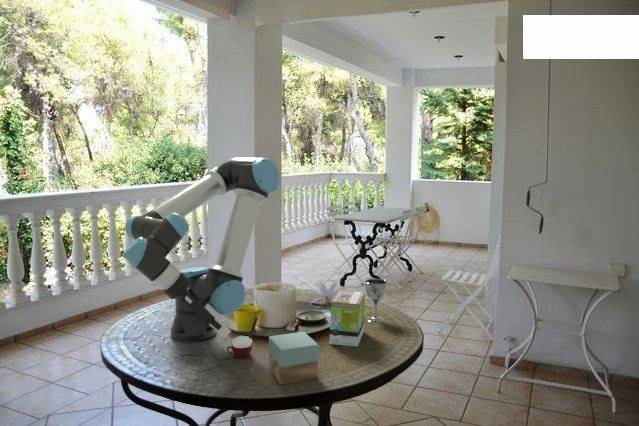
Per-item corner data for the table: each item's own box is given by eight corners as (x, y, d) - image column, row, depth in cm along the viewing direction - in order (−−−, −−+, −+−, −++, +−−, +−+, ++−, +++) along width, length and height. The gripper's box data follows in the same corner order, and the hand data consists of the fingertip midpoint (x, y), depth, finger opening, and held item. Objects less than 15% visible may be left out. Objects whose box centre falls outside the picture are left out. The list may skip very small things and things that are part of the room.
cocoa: (226, 360, 156) (224, 322, 154) (231, 351, 162) (228, 315, 160) (257, 359, 155) (255, 322, 153) (260, 351, 161) (258, 315, 159)
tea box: (359, 347, 166) (360, 303, 164) (328, 344, 168) (329, 301, 166) (364, 331, 181) (365, 291, 179) (336, 329, 183) (337, 289, 181)
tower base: (269, 369, 149) (269, 353, 149) (304, 364, 153) (304, 348, 153) (280, 385, 139) (280, 368, 139) (317, 379, 143) (317, 362, 143)
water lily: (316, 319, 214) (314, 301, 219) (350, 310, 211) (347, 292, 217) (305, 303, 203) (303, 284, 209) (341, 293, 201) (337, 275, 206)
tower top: (268, 352, 149) (268, 336, 148) (303, 347, 153) (303, 331, 153) (281, 367, 139) (281, 350, 138) (318, 361, 143) (318, 344, 143)
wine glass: (389, 318, 195) (390, 280, 193) (380, 324, 188) (381, 285, 187) (370, 315, 199) (371, 277, 197) (361, 320, 193) (362, 281, 191)
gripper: (159, 280, 158) (208, 323, 165) (165, 302, 135) (221, 351, 142) (177, 263, 159) (224, 305, 166) (185, 281, 136) (240, 330, 143)
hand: (223, 326), depth 154 cm, fingers open, 13 cm apart
